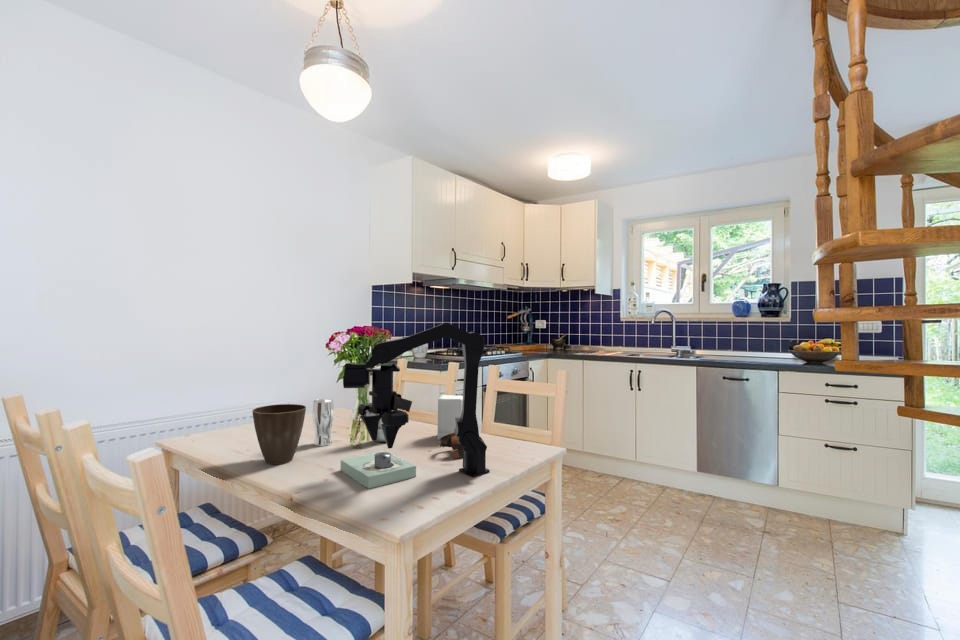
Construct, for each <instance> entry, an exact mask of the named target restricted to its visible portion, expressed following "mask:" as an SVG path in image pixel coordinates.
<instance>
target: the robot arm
mask: <svg viewBox="0 0 960 640" xmlns="http://www.w3.org/2000/svg"><path fill="white" fill-rule="evenodd" d="M442 338H448V339H451V340H453V341H455V342H458V343H459V344H461V348H462V357H463V360H464V368H463V369H464V370H463V388H462V389H463V390H462V396H463V403H462V413H461V416H460V418H457V417H455V422H456V427H455V429H454V432H455V434H456V436H457V437H458V439H459V442H460V444H461V445H462V446H464V447H466V448H463V457H462V467H461V468H458V471H459V472H461V473H464V474H466V475H468V476H470V477H476V476H480V475H483V474H487V473H490V472H491V470H490V469H488V468H486V467H487V466H486V464H487V463H486V462H487V461H486V457H487V456H486V454H487V453H486V452H487V448H488V446H487V445H486V443H485V441H484V439H483V438H482V437H481V436H480V433H479V423H478V418H477V401H478V399H477V398H478V385H479V384H478V383H479V380H478V379H479V364H480V362H481V359H482V357H483V352H484V349H485V342H486V341H485V338H484V335H482V334H481V333H480V332H474V331H466V330H463V329H461V328H459V327H456V326H455V325H453V324H451V323H450V322H447V321H446V322H442V323H440V324H439V325H436V326H433V327H431V328H428V329H425V330H423V331H420V332H417V333H414V334H411V335H409V336H406V337H403V338H398V339H392V340H385V341H380V342H378V343H377V344H376V345H374V346H373V347H372V349H371V356H370V358H369V359H367V360H366V361H365V363H352V362H346V363H345V364H344V371H343V376H342V384H343V385H342V386H343V389H366V387H367V385H370V384H371V391H368V395H369V396H371V402H368V403H361V404H360V405H359V406H358V407H357V410H358V411H357V414H358V415H360V419H361V420H362V423H363V424H364V426H365V428H366V431H367V433H368V434H369V437H370V438H371V441H372V442H375V441H376V440H377V434H378V425H379V420H380V419H381V420H382V423H383V424H381V426H382V429H383V433H384V436H385V440H386V441H385V443H386V446H387V449H392V448H393V446H394V444H395V441H396V437H397V435H398V433H399V430H400V428H401V427H402V426H405V425H406V424H408V423H409V414H408V413H410V411H411V408H412V404H413V401H412V400H409V399H406V398H403V397H402V394H400V393H398V392H397V391H395V390H394V372H400V371H401V368H400V366H398V365H397V364H396V362H392V364H390V365H389V364H388V363H389V362H391V361H393V360H395V359H397V358H399V357H400V356H401V355H403V354H404V353H407V352H409V351H410V350H413V349H416V348H419V347H421V346H424V345H427V344H429V343H430V344H431V343H432V342H435V341H438V340H441V339H442ZM386 364H387V365H386ZM378 365H380V368H374V367H376V366H378ZM370 382H371V383H370ZM407 412H408V413H407ZM376 442H377V441H376Z"/></svg>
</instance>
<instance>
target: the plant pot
mask: <svg viewBox="0 0 960 640" xmlns="http://www.w3.org/2000/svg"><path fill="white" fill-rule="evenodd" d="M306 410H307V406H305V405H303V404H298V403H297V404H294V403H293V404H291V403H287V404H286V403H283V404H282V403H280V404H271V405H270V404H269V405H264V406H259V407H255V408H254V409H253V408H252V412H251V413H252V419H253V425H254V430H255V433H256V439H257V443H258V444H259V448H260V452H261V453H262V456H263V460H264V461H265V464H268V465H282V464H287V463H289V462H291V461H292V460H293V459H294V458H295V457H294V456H295V455H296V454H295V453H296V451H297V448H298V445H299V442H300V439H301V436H302V431H303V427H304V423H305V417H306V416H305V415H306Z"/></svg>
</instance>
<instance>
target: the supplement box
mask: <svg viewBox="0 0 960 640" xmlns="http://www.w3.org/2000/svg"><path fill="white" fill-rule="evenodd" d="M462 403H463V394H462V395H460V394H459V395H458V394H457V395H453V394H452V395H451V394H442V395H441V396H439V397H438V399H437V440H438V441H441V440H440V439H441V438H442V437H443V436H446V435H448V434H451V433H455V432H454V429H455V427H456V422H455V417H457V418H460V416H461V413H462Z"/></svg>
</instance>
